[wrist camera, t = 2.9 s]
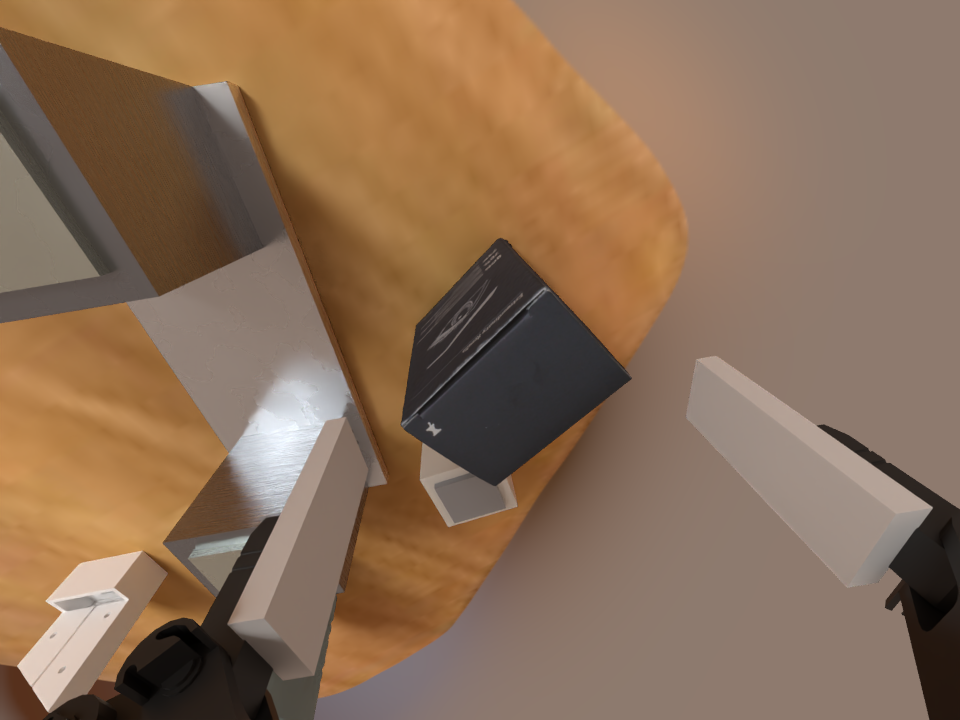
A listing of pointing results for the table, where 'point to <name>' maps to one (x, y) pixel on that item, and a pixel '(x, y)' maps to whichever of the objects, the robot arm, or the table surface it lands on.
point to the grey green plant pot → (300, 687)
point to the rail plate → (257, 318)
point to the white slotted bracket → (89, 624)
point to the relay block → (462, 490)
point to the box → (502, 368)
